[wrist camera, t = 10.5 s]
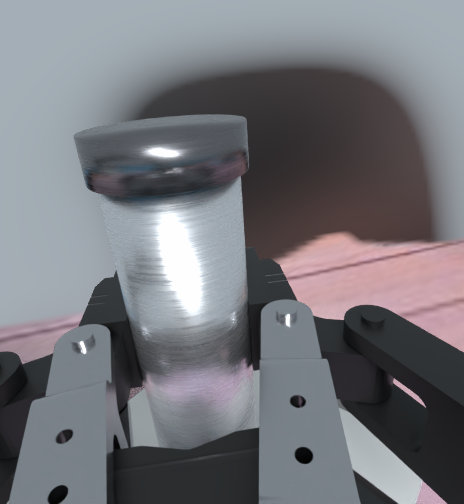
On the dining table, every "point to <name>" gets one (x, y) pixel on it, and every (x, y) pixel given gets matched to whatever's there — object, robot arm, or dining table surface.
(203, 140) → the clevis pin
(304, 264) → the dining table surface
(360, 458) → the clevis bracket
